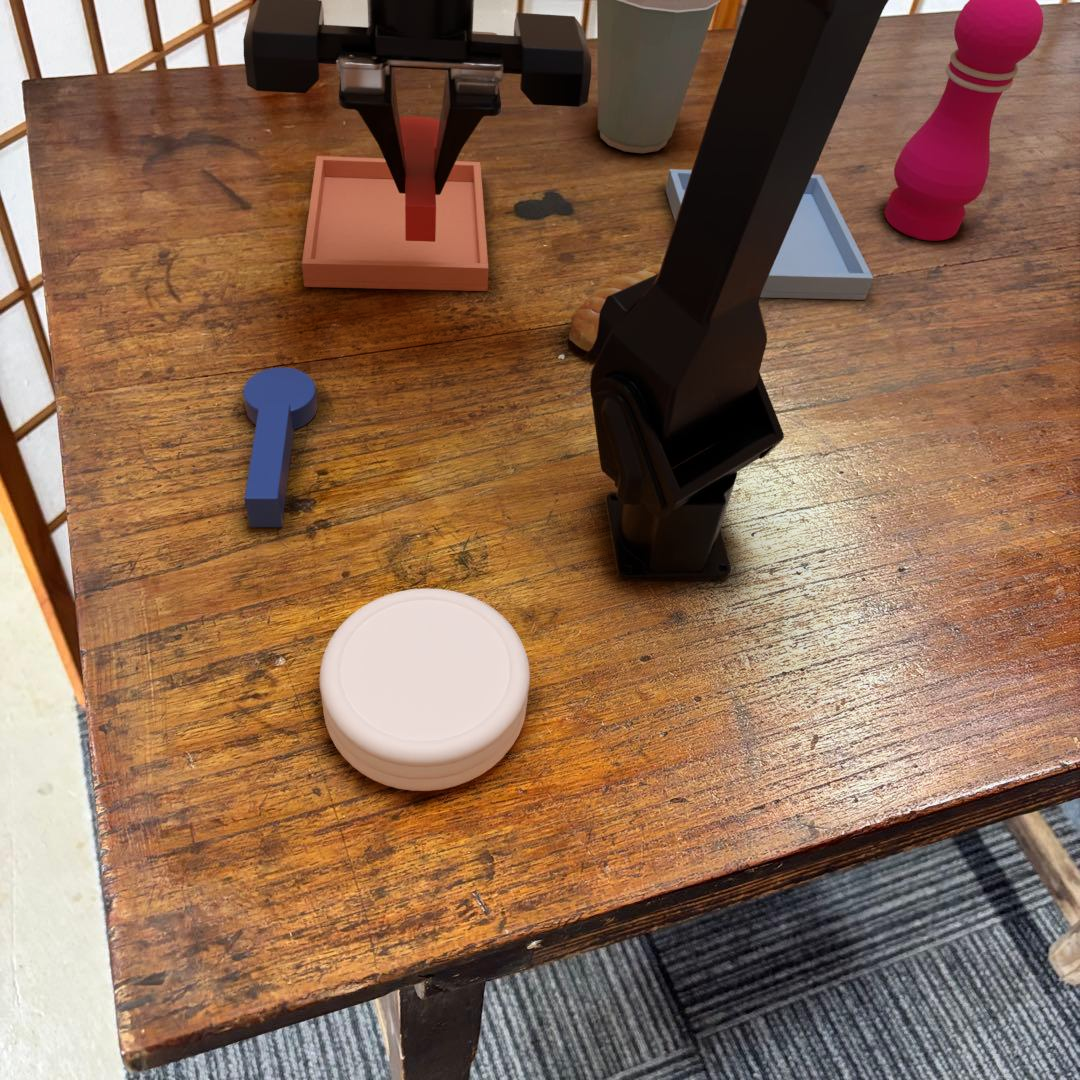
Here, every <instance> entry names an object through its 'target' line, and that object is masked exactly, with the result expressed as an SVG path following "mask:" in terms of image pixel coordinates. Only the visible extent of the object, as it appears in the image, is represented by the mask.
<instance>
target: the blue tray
mask: <svg viewBox="0 0 1080 1080" xmlns="http://www.w3.org/2000/svg"><path fill="white" fill-rule="evenodd" d="M691 172H692V169H680V168H679V169H675V168H669V170H668V175H667V181H666V186H665V193H666V196H667V200H668V204H669V206H670V210H671V213H672V216H673V220H674V223H675V222H676V218H677V215H678V212H679V209H680V206H681V203H682V200H683V197H684V194H685V190H686V187H687V184H688V181H689V178H690V175H691ZM873 280H874V277H873V274H872V272H871V270H870V268H869V266H868V264H867V262H866V260H865V259H864V256H863V255H862V252H861V250H860V248H859V246H858V244H857V243H856V241H855V238H854V237H853V235H852V233H851V231H850V229H849V226H848V225H847V223H846V220H845V218H844V216H843V215H842V213H841V211H840V209H839V207H838V204H837V203H836V200H835V199H834V197H833V195H832V193H831V191H830V189H829V187H828V186H827V183H826V181H825V179H824V178H823V175H822V174H814V173H813V174H812V176H811V179H810V181H809V183H808V185H807V188H806V190H805V192H804V195H803V197H802V199H801V202H800V204H799V206H798V209H797V211H796V213H795V216H794V218H793V220H792V223H791V225H790V227H789V230H788V232H787V234H786V237H785V239H784V241H783V244H782V246H781V248H780V250H779V253H778V255H777V257H776V260H775V262H774V264H773V267H772V269H771V271H770V274H769V276H768V278H767V281H766V283H765V285H764V288H763V290H762V292H761V295H760V298H762V299H763V298H764V299H765V298H767V299H769V298H770V299H807V300H808V299H810V300H811V299H812V300H814V299H815V300H819V299H820V300H821V299H822V300H849V301H850V300H852V301H853V300H856V301H857V300H858V301H865V300H866V299H867V297H868V293H869V291H870V288H871V286H872V283H873Z"/></svg>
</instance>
